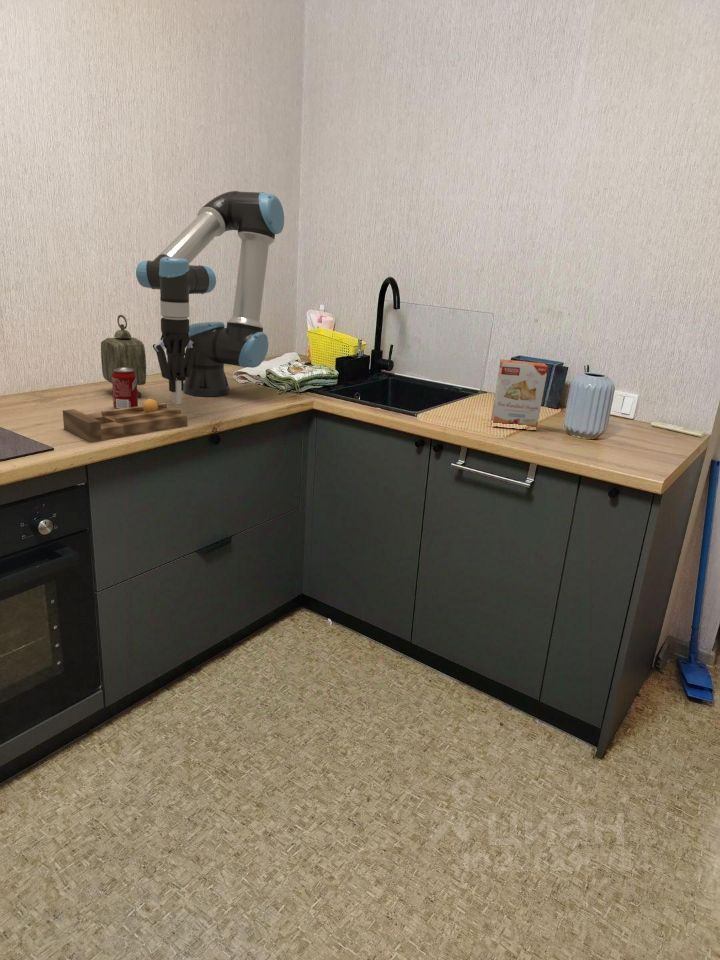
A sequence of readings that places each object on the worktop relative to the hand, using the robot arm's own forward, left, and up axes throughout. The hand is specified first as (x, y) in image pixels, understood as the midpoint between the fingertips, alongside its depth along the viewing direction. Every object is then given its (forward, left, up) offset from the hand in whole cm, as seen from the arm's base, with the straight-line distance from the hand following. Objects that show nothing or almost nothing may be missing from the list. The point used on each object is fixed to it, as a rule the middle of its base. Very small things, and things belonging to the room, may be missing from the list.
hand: (176, 402), depth 184 cm
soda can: (+6, -17, -5) cm, 19 cm away
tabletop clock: (-3, -34, -5) cm, 35 cm away
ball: (+8, 0, 0) cm, 8 cm away
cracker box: (-83, +62, -5) cm, 104 cm away
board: (+15, 0, -5) cm, 16 cm away
